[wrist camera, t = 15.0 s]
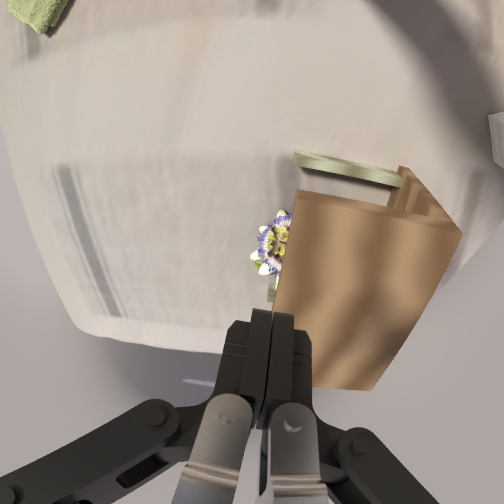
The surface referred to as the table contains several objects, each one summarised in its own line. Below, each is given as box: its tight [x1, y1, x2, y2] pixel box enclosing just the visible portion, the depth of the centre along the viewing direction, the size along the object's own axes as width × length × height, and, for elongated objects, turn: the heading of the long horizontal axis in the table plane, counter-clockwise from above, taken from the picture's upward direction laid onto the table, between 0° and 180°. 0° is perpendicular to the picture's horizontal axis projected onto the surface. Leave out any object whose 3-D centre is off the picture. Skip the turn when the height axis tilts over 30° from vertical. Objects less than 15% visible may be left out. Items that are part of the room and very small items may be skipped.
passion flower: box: [250, 209, 292, 289], centre depth 44 cm, size 11×11×12 cm
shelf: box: [267, 151, 463, 391], centre depth 39 cm, size 16×25×17 cm, turn 173°
